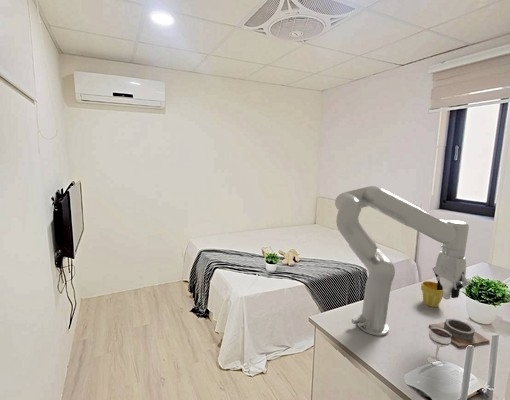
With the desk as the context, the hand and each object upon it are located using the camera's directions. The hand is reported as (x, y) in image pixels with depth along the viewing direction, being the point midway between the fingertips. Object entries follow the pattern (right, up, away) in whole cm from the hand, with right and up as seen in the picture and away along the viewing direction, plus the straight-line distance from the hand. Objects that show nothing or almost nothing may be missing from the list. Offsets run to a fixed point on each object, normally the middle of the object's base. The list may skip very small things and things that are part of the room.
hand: (447, 293), depth 119 cm
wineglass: (-14, -20, -14) cm, 28 cm away
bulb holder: (+6, -18, +3) cm, 20 cm away
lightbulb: (0, -3, 0) cm, 3 cm away
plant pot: (+10, -14, +27) cm, 32 cm away
